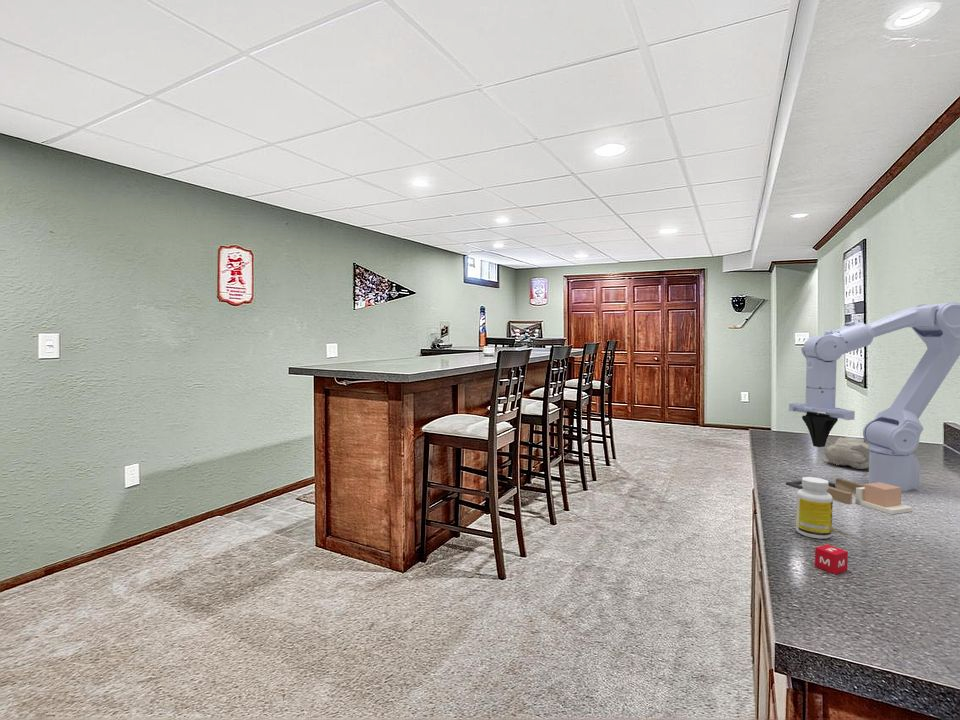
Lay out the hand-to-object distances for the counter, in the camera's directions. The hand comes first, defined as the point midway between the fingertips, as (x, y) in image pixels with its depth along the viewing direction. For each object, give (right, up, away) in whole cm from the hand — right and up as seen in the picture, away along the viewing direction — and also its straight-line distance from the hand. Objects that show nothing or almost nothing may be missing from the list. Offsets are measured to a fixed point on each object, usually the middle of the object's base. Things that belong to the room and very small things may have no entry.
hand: (818, 446), depth 117 cm
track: (+1, -10, -11) cm, 15 cm away
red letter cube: (-25, -12, -40) cm, 49 cm away
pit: (-2, -10, 0) cm, 10 cm away
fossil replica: (+22, -9, +20) cm, 31 cm away
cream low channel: (+3, -10, -15) cm, 18 cm away
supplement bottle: (-19, -11, -26) cm, 34 cm away
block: (+3, -9, -15) cm, 18 cm away
